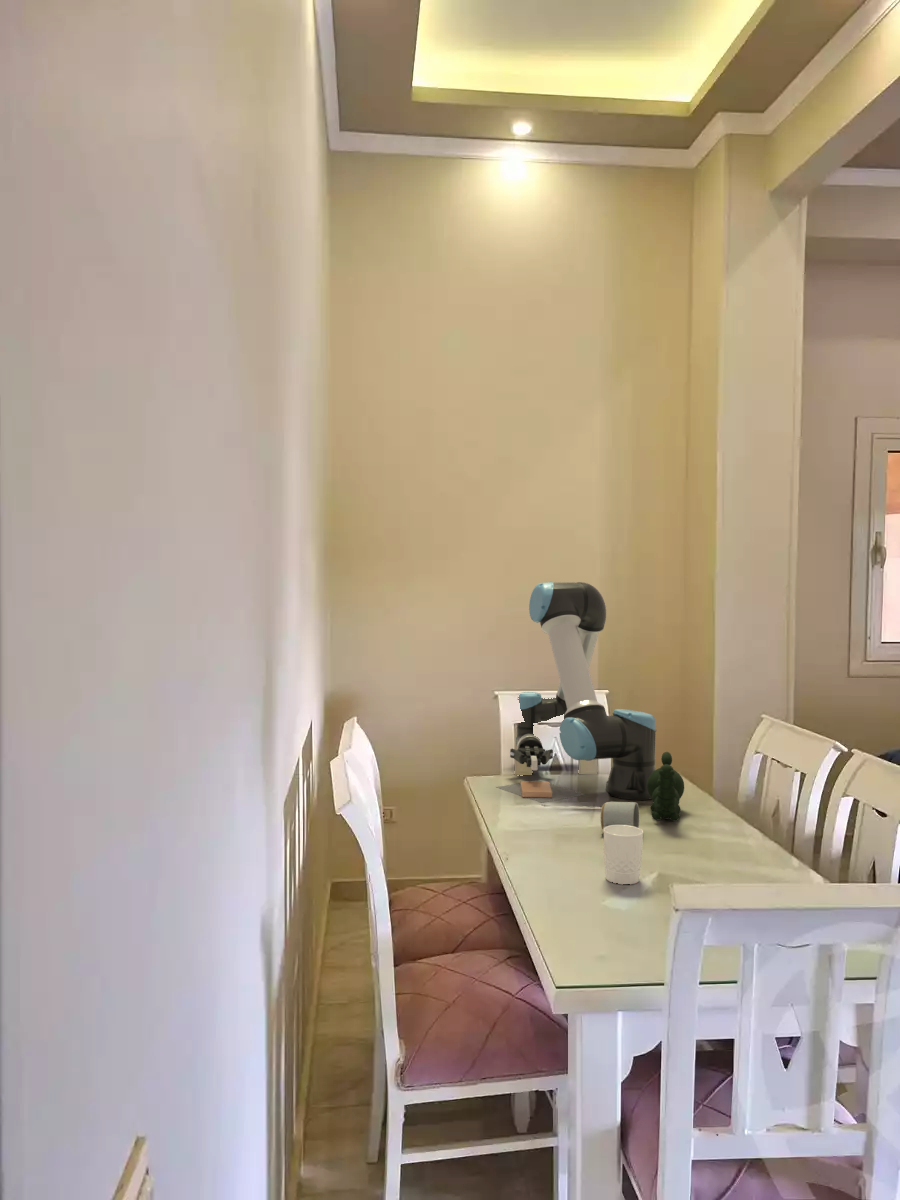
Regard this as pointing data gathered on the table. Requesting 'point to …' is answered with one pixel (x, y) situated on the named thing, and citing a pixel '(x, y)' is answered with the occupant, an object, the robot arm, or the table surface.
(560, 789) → the mat
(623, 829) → the white cup
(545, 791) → the tile
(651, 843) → the table surface
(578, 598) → the robot arm
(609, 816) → the ceramic mug
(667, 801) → the toy figurine
